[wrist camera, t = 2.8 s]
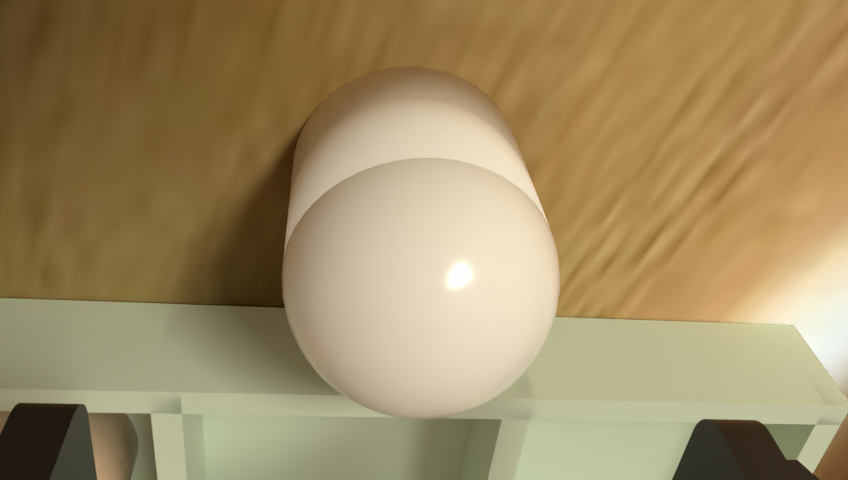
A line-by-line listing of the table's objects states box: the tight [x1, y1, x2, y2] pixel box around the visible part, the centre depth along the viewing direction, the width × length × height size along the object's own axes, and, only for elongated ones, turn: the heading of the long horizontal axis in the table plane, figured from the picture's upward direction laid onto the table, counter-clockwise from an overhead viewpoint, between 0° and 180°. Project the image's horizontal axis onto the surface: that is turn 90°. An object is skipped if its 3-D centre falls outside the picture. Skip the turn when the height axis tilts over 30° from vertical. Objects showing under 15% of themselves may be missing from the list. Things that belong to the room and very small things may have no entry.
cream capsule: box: [282, 67, 560, 419], centre depth 14 cm, size 5×5×6 cm
